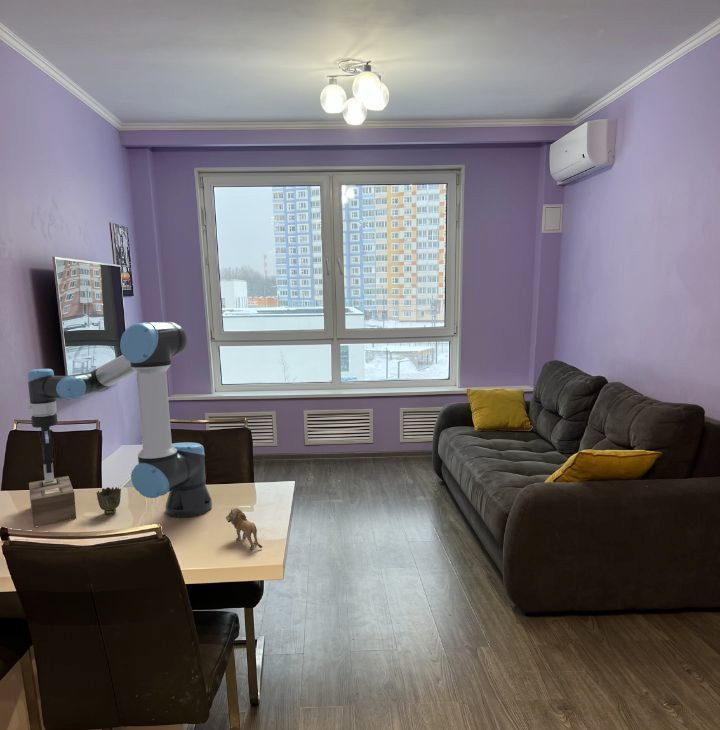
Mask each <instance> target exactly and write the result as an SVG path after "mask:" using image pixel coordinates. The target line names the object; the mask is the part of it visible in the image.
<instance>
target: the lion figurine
mask: <svg viewBox="0 0 720 730" xmlns="http://www.w3.org/2000/svg"><path fill="white" fill-rule="evenodd" d="M225 519H226V521H227V523H231V524H232V526H234V529H236V535H237V537H236V538H235V541H237V542H238V541H241V539H242V538H247V541H248V543H249V544H250V546H249V550H252V551H253V549H255V546H254V544H256V545H257V546H258V548H260V549H262V548H263V546H262V545H261V544H260V543H259V542H258V529H257V526H256V524H255V523H254V522H253V521H249V520H248V519H247V516H246V515H245V513H244V512H243V511H242V510H241V509H239V508H237V507H235V508H234V507H233V508H230V512H229V513H228V515H227V516H226V517H225ZM241 532H242V537H241ZM252 535H253V540H254V541H253V540H252Z"/></svg>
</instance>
